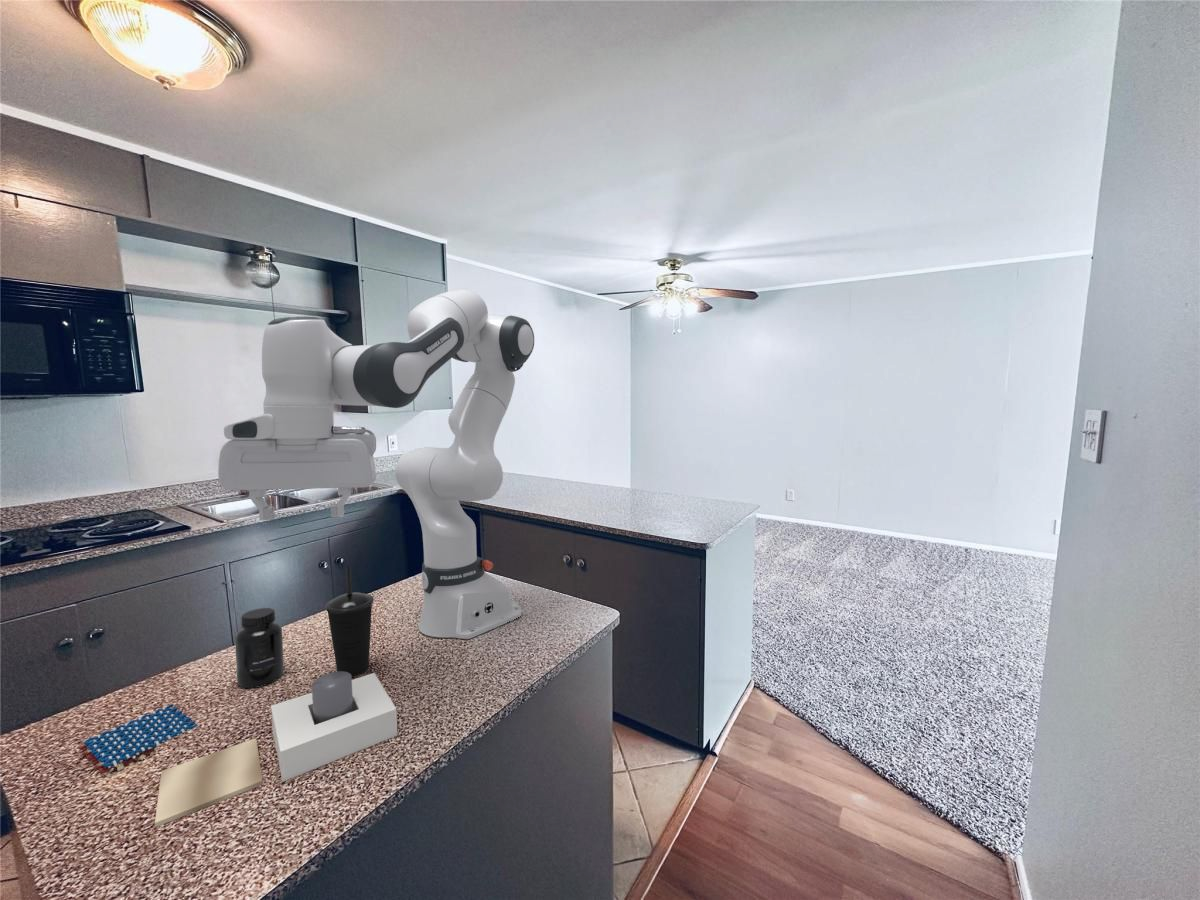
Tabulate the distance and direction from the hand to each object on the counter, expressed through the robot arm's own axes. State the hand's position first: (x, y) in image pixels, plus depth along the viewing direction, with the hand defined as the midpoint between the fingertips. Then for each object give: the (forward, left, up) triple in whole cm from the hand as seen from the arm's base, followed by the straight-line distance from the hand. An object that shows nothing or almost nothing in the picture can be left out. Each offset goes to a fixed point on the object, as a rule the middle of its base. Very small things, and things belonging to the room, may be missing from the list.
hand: (303, 518), depth 74 cm
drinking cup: (-7, -8, -32) cm, 33 cm away
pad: (+13, +9, -31) cm, 35 cm away
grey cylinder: (-1, +8, -30) cm, 32 cm away
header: (-1, +9, -31) cm, 33 cm away
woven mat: (+21, -8, -32) cm, 39 cm away
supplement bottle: (+6, -17, -32) cm, 37 cm away
